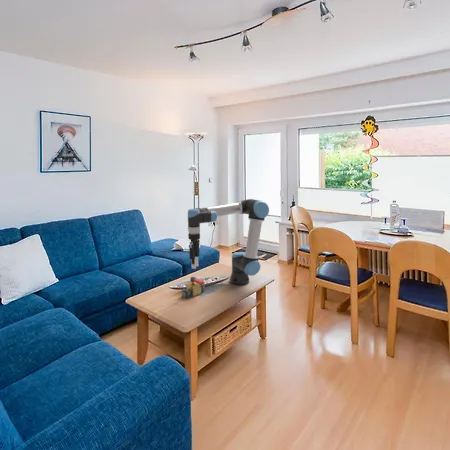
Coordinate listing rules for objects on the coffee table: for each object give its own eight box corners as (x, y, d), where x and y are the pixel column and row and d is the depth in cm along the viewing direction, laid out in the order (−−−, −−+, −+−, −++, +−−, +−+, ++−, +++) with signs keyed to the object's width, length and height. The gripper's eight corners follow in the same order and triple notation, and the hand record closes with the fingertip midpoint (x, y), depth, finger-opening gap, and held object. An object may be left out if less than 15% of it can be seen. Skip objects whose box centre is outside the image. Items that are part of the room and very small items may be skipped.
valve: (200, 288, 231) (200, 276, 229) (206, 291, 226) (206, 279, 224) (180, 296, 219) (179, 283, 217) (186, 299, 214) (186, 286, 212)
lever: (189, 281, 221) (189, 277, 220) (193, 279, 223) (193, 276, 223) (200, 285, 212) (200, 282, 212) (205, 284, 215) (204, 280, 215)
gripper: (193, 229, 214) (194, 262, 219) (183, 235, 198) (184, 271, 202) (203, 230, 212) (204, 263, 217) (194, 236, 196) (195, 272, 200)
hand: (195, 267), depth 209 cm, fingers open, 4 cm apart
